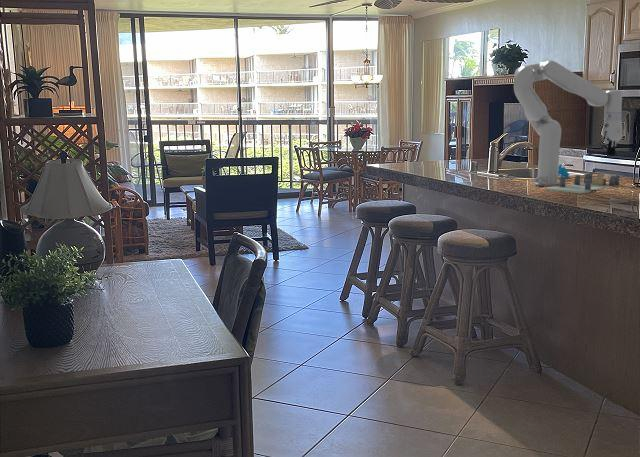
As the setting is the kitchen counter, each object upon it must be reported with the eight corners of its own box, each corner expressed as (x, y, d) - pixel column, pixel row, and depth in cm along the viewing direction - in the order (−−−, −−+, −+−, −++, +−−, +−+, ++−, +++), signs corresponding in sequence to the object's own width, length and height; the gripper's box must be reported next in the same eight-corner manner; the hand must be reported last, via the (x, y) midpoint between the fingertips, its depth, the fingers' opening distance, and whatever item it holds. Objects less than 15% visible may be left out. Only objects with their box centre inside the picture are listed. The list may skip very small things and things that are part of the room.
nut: (602, 185, 321) (602, 178, 320) (588, 184, 326) (589, 177, 326) (609, 184, 325) (609, 177, 324) (595, 183, 330) (596, 176, 329)
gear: (560, 176, 355) (551, 161, 360) (553, 183, 359) (544, 169, 364) (574, 177, 361) (565, 163, 366) (566, 184, 365) (557, 170, 370)
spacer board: (580, 193, 303) (581, 181, 302) (545, 189, 317) (546, 178, 316) (621, 186, 323) (622, 175, 322) (586, 183, 337) (587, 172, 336)
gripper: (611, 117, 317) (609, 156, 320) (628, 115, 326) (626, 154, 329) (596, 117, 323) (595, 156, 326) (613, 115, 332) (612, 153, 335)
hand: (611, 155), depth 328 cm, fingers closed
